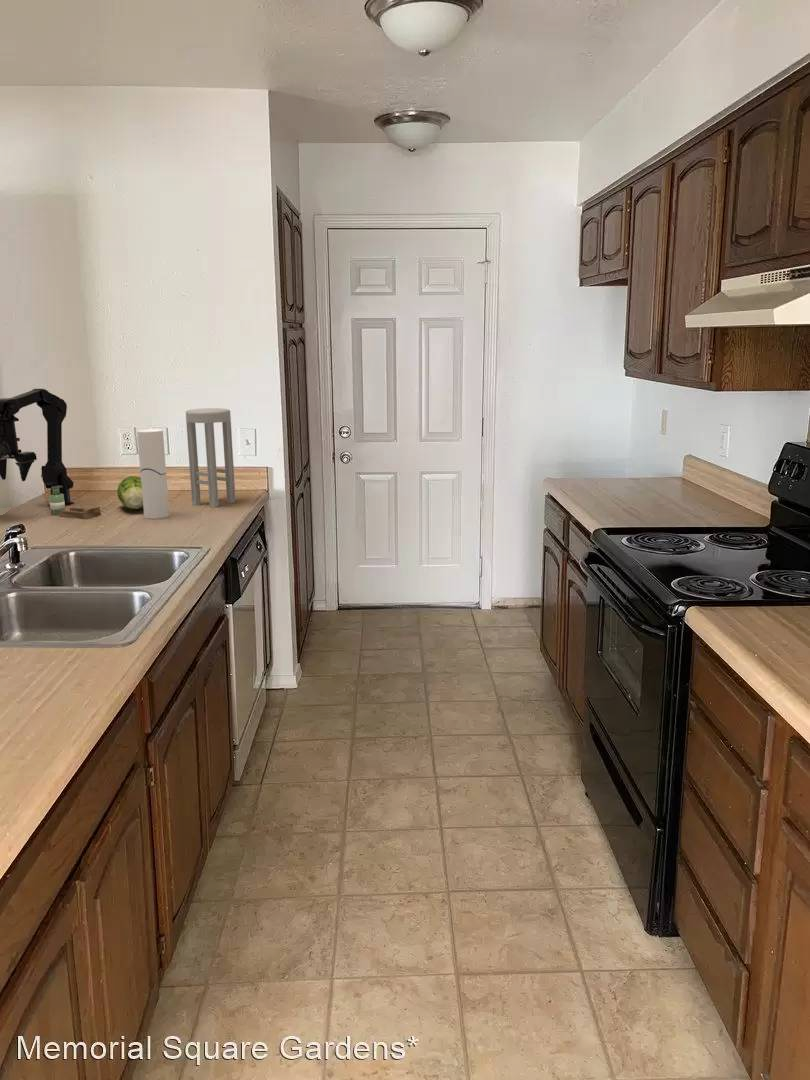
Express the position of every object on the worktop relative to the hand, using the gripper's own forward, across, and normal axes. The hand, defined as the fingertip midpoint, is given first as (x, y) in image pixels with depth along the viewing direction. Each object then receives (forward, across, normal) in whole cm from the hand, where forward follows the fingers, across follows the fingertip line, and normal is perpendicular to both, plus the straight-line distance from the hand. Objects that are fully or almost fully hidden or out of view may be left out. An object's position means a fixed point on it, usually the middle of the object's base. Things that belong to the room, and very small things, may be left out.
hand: (13, 480), depth 292 cm
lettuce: (+14, +31, +24) cm, 42 cm away
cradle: (+13, +19, +8) cm, 25 cm away
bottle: (+13, +10, +8) cm, 19 cm away
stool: (+14, +52, +44) cm, 69 cm away
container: (+14, +46, +18) cm, 51 cm away
